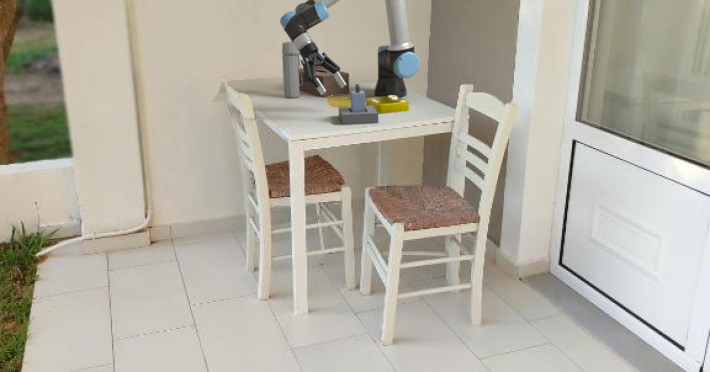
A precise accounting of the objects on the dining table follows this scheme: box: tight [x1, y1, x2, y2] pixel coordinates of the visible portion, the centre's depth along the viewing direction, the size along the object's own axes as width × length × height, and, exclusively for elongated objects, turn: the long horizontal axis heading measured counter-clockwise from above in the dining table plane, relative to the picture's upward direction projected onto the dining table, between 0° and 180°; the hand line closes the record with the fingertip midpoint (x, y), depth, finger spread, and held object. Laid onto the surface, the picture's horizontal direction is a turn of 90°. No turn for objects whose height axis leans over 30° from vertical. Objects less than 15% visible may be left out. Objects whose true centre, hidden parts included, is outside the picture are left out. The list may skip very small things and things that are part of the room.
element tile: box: [365, 95, 410, 115], centre depth 282 cm, size 15×15×5 cm
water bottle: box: [281, 41, 303, 99], centre depth 305 cm, size 9×8×25 cm
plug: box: [350, 83, 366, 112], centre depth 262 cm, size 5×5×13 cm
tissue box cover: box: [299, 66, 350, 98], centre depth 318 cm, size 26×14×10 cm, turn 36°
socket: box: [338, 105, 379, 126], centre depth 264 cm, size 14×14×4 cm
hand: (334, 89), depth 269 cm, fingers open, 13 cm apart
